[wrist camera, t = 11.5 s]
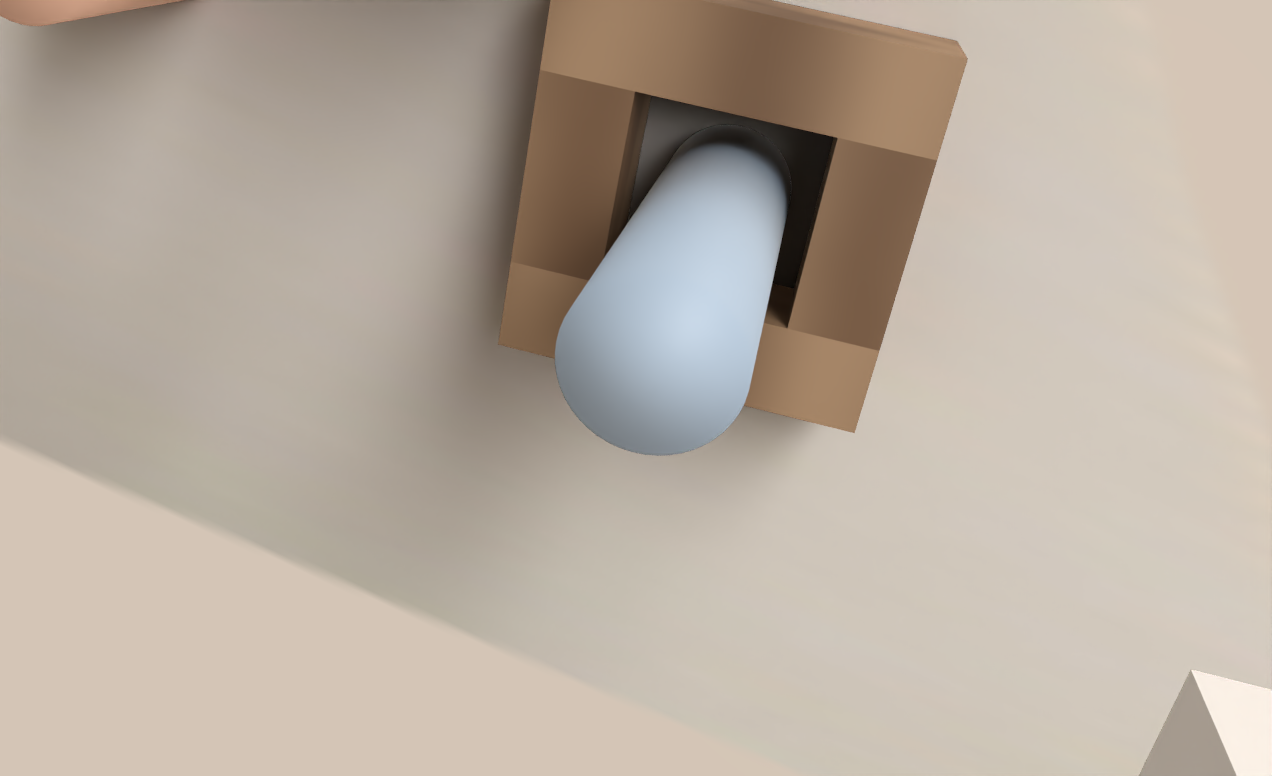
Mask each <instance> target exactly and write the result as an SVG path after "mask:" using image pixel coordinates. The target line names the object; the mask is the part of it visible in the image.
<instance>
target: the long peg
mask: <svg viewBox="0 0 1272 776" xmlns="http://www.w3.org/2000/svg"><path fill="white" fill-rule="evenodd" d="M791 190H792V185H791V176H790V172H789V169H788V166H787V163H786V161H785V159H784V157H783V155H782V154H781V152H780V151H779V150H778V148H777V147H776V146H775V145H774V144H773V143H772V142H771V141H770V140H769V139H768V138H766V137H765V136H763V135H762V134H760V133H759V132H757V131H754V130H752V129H750V128H746V127H743V126H738V125H717V126H713V127H709V128H706V129H703V130H701V131H699V132H697V133H695V134H694V135H692V136H691V137H690V138H688V139H687V140H686V141H685V142H684V143H683V144H682V145H681V146H680V147H679V148H678V150H677V151H676V152H675V154H674V155H673V157H672V158H671V160H670V161H669V163H668V164H667V166H666V167H665V169H664V170H663V172H662V173H661V175H660V176H659V177H658V179H657V180H656V182H655V183H654V185H653V186H652V188H651V189H650V191H649V192H648V194H647V195H646V197H645V198H644V200H643V201H642V203H641V204H640V206H639V207H638V209H637V210H636V212H635V213H634V215H633V216H632V218H631V219H630V220H629V222H628V223H627V225H626V226H625V228H624V229H623V231H622V232H621V234H620V235H619V237H618V238H617V240H616V241H615V243H614V244H613V246H612V247H611V249H610V250H609V252H608V253H607V255H606V256H605V258H604V259H603V260H602V262H601V263H600V265H599V266H598V268H597V269H596V271H595V272H594V274H593V275H592V277H591V278H590V280H589V281H588V283H587V284H586V286H585V287H584V289H583V290H582V292H581V293H580V295H579V296H578V298H577V299H576V300H575V302H574V303H573V305H572V306H571V308H570V309H569V311H568V313H567V314H566V316H565V318H564V320H563V322H562V324H561V327H560V329H559V333H558V336H557V340H556V348H555V367H556V373H557V378H558V382H559V385H560V388H561V391H562V393H563V395H564V397H565V400H566V401H567V403H568V405H569V406H570V408H571V409H572V411H573V412H574V413H575V415H576V416H577V417H578V418H579V420H580V421H581V422H582V423H583V424H584V425H585V426H586V427H587V428H588V429H590V430H591V431H592V432H593V433H595V434H596V435H597V436H599V437H600V438H602V439H604V440H605V441H607V442H608V443H610V444H613V445H615V446H617V447H619V448H622V449H625V450H628V451H631V452H635V453H640V454H645V455H657V456H658V455H673V454H680V453H684V452H687V451H691V450H694V449H696V448H699V447H701V446H703V445H705V444H707V443H709V442H710V441H712V440H714V439H715V438H716V437H718V436H719V435H720V434H722V433H723V432H724V431H725V430H726V429H727V428H728V427H729V426H730V425H731V424H732V423H733V421H734V420H735V418H736V417H737V416H738V414H739V413H740V411H741V409H742V407H743V405H744V403H745V401H746V398H747V395H748V392H749V388H750V383H751V379H752V374H753V370H754V365H755V360H756V356H757V351H758V347H759V342H760V337H761V333H762V328H763V324H764V319H765V314H766V310H767V305H768V301H769V296H770V291H771V287H772V282H773V278H774V273H775V268H776V264H777V259H778V255H779V250H780V245H781V241H782V236H783V232H784V227H785V222H786V218H787V213H788V209H789V204H790V199H791Z"/></svg>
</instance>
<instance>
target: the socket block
mask: <svg viewBox="0 0 1272 776" xmlns="http://www.w3.org/2000/svg"><path fill="white" fill-rule="evenodd" d="M966 63H967V57H966V55H965V54H964V52H963V50H962V48H961V47H960V45H959V43H958V42H957V41H954V40H950V39H945V38H941V37H936V36H932V35H927V34H923V33H918V32H913V31H909V30H904V29H900V28H895V27H891V26H886V25H882V24H877V23H872V22H868V21H863V20H859V19H854V18H850V17H845V16H841V15H836V14H832V13H827V12H822V11H818V10H813V9H809V8H804V7H800V6H795V5H791V4H786V3H781V2H777V1H772V0H550V6H549V13H548V20H547V26H546V33H545V39H544V46H543V52H542V59H541V66H540V72H539V79H538V85H537V92H536V98H535V105H534V112H533V118H532V125H531V131H530V138H529V144H528V151H527V158H526V164H525V171H524V177H523V184H522V190H521V197H520V204H519V210H518V217H517V223H516V230H515V236H514V243H513V250H512V256H511V263H510V269H509V276H508V282H507V289H506V296H505V302H504V309H503V315H502V322H501V328H500V335H499V342H498V345H502V346H506V347H510V348H514V349H519V350H523V351H527V352H531V353H535V354H539V355H543V356H547V357H551V358H555V348H556V340H557V336H558V333H559V329H560V327H561V324H562V322H563V320H564V318H565V316H566V314H567V313H568V311H569V309H570V308H571V306H572V305H573V303H574V302H575V300H576V299H577V298H578V296H579V295H580V293H581V292H582V290H583V289H584V287H585V286H586V284H587V283H588V281H589V280H590V278H591V277H592V275H593V274H594V272H595V271H596V269H597V268H598V266H599V265H600V263H601V262H602V260H603V259H604V258H605V256H606V255H607V253H608V252H609V250H610V249H611V247H612V246H613V244H614V243H615V241H616V240H617V238H618V237H619V235H620V234H621V232H622V231H623V229H624V228H625V226H626V224H627V219H628V214H629V209H630V204H631V199H632V193H633V188H634V183H635V178H636V173H637V168H638V162H639V157H640V152H641V147H642V142H643V137H644V131H645V126H646V121H647V116H648V111H649V106H650V100H651V95H652V96H657V97H661V98H666V99H670V100H674V101H679V102H683V103H688V104H692V105H696V106H701V107H705V108H709V109H714V110H718V111H723V112H727V113H731V114H736V115H740V116H745V117H749V118H753V119H758V120H762V121H766V122H771V123H775V124H780V125H784V126H788V127H793V128H797V129H801V130H806V131H810V132H815V133H819V134H823V135H828V136H832V137H834V138H833V142H832V146H831V149H830V153H829V157H828V161H827V165H826V168H825V172H824V176H823V180H822V184H821V187H820V191H819V195H818V199H817V203H816V206H815V210H814V214H813V218H812V222H811V225H810V229H809V233H808V237H807V241H806V245H805V248H804V252H803V256H802V260H801V264H800V267H799V271H798V275H797V279H796V283H795V286H794V289H793V288H789V287H785V286H781V285H776V284H772V287H771V291H770V296H769V301H768V305H767V310H766V314H765V319H764V324H763V328H762V333H761V337H760V342H759V347H758V351H757V356H756V360H755V365H754V370H753V374H752V379H751V383H750V388H749V392H748V395H747V398H746V401H745V403H744V406H748V407H752V408H756V409H760V410H764V411H768V412H772V413H776V414H780V415H784V416H788V417H792V418H796V419H800V420H804V421H808V422H812V423H816V424H820V425H824V426H828V427H832V428H837V429H841V430H845V431H849V432H853V433H855V429H856V426H857V423H858V420H859V416H860V413H861V410H862V406H863V403H864V400H865V396H866V393H867V390H868V386H869V383H870V380H871V377H872V373H873V370H874V367H875V363H876V360H877V357H878V353H879V350H880V347H881V344H882V340H883V337H884V334H885V330H886V327H887V324H888V320H889V317H890V314H891V310H892V307H893V304H894V301H895V297H896V294H897V291H898V287H899V284H900V281H901V277H902V274H903V271H904V268H905V264H906V261H907V258H908V254H909V251H910V248H911V244H912V241H913V238H914V234H915V231H916V228H917V225H918V221H919V218H920V215H921V211H922V208H923V205H924V201H925V198H926V195H927V192H928V188H929V185H930V182H931V178H932V175H933V172H934V168H935V165H936V162H937V159H938V155H939V152H940V149H941V145H942V142H943V139H944V135H945V132H946V129H947V125H948V122H949V119H950V116H951V112H952V109H953V106H954V102H955V99H956V96H957V92H958V89H959V86H960V83H961V79H962V76H963V73H964V69H965V66H966Z"/></svg>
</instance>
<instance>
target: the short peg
mask: <svg viewBox="0 0 1272 776" xmlns="http://www.w3.org/2000/svg"><path fill="white" fill-rule="evenodd" d="M177 1H183V0H0V16H2V17H4V18H6V19H8V20H10V21H13V22H16V23H19V24H23V25H29V26H43V25H50V24H55V23H61V22H66V21H72V20H78V19H83V18H89V17H94V16H100V15H105V14H111V13H116V12H122V11H127V10H133V9H138V8H144V7H149V6H155V5H161V4H166V3H172V2H177Z"/></svg>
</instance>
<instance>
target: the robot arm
mask: <svg viewBox="0 0 1272 776" xmlns="http://www.w3.org/2000/svg"><path fill="white" fill-rule="evenodd" d="M1139 776H1272V690H1271V689H1267V688H1263V687H1259V686H1255V685H1251V684H1247V683H1243V682H1239V681H1235V680H1231V679H1227V678H1223V677H1219V676H1215V675H1211V674H1207V673H1203V672H1199V671H1195V670H1190V672H1189V674H1188V677H1187V679H1186V681H1185V683H1184V685H1183V687H1182V689H1181V691H1180V693H1179V695H1178V697H1177V699H1176V701H1175V703H1174V705H1173V707H1172V709H1171V711H1170V713H1169V715H1168V717H1167V719H1166V721H1165V723H1164V725H1163V727H1162V729H1161V731H1160V734H1159V736H1158V738H1157V740H1156V742H1155V744H1154V746H1153V748H1152V750H1151V752H1150V754H1149V756H1148V758H1147V760H1146V762H1145V764H1144V766H1143V768H1142V770H1141V772H1140V774H1139Z"/></svg>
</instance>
